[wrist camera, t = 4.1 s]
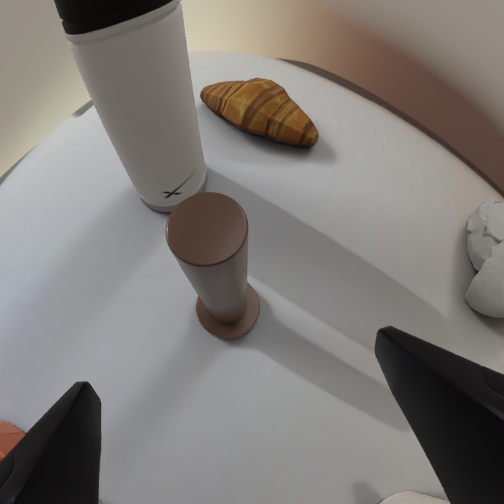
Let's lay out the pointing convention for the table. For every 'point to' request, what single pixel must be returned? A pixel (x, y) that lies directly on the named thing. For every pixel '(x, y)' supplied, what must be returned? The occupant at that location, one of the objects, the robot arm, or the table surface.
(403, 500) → the dixie cup
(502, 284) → the grey clay mound
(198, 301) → the brown flanged peg
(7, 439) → the orange round container
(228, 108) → the croissant
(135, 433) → the table surface
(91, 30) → the travel mug
